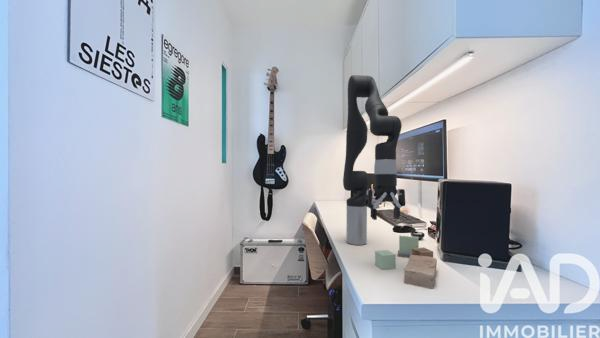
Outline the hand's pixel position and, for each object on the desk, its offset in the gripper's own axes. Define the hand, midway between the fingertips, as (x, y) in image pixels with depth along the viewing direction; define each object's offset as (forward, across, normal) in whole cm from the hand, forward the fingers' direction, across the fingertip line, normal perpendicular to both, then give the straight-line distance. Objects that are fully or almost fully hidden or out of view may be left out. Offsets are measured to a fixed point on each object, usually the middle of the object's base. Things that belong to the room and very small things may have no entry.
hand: (385, 218), depth 93 cm
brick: (+17, -7, +10) cm, 21 cm away
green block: (+17, 0, 0) cm, 17 cm away
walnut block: (+17, -15, 0) cm, 23 cm away
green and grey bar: (+17, -15, -8) cm, 24 cm away
